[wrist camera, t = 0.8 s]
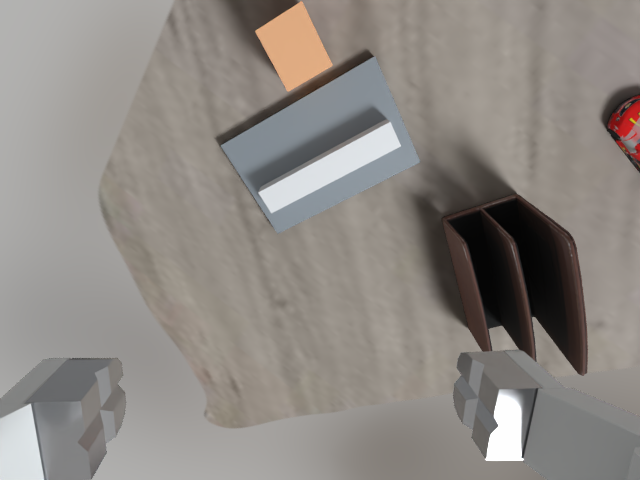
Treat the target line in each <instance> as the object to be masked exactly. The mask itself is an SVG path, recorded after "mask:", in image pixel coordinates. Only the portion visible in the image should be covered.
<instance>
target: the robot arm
mask: <svg viewBox="0 0 640 480" xmlns="http://www.w3.org/2000/svg"><path fill="white" fill-rule="evenodd" d="M457 369H458V371H459V372H460V374H461V376H460V377H459V379H458V380H457V381H456V382H455V383H454V391H453V399H454V406H455V409H456V412H457V415H458V417H459V418H460V420H461V422H462V423H463V424H464V425H466V426H467V427H469V428H471V429H472V430H473V432H472V439H473V440H474V442H475V444H476V445H477V446H478V448H479V450H480V451H481V453H482V454H483V456H484V458H485V459H486V460H523V462H524V463H525V464H527V465H528V466H529V467H531V468H532V469H534V470H535V471H536V472H538V473H539V474H540V475H541V476H543V477H544V478H545V479H547V480H640V416H638V415H636V414H634V413H631V412H629V411H626V410H624V409H621V408H619V407H617V406H614V405H612V404H610V403H607V402H605V401H602V400H600V399H597V398H595V397H593V396H591V395H588V394H586V393H583V392H581V391H579V390H576V389H573V388H565V387H564V386H563V385H562V384H561V383H560V382H559V381H557V380H556V379H555V378H554V377H553V376H552V375H550V374H549V373H548V372H547V371H546V370H545V369H544V368H542V367H541V366H540V365H539V364H538V363H537V362H535V361H534V360H533V359H532V358H531V357H530V356H529V355H527V354H526V353H525V352H524V351H521V350H505V351H485V352H464V353H461V354H460V356H459V358H458V362H457ZM122 376H123V370H122V363H121V361H120V360H119V359H118V358H51V359H50V358H49V359H45V360H42V361H41V362H40V363H39V364H38V365H37V366H36V367H35V368H34V369H32V370H31V371H30V372H29V373H28V374H27V375H26V376H25V377H24V378H22V379H21V380H20V381H19V382H18V383H17V384H16V385H15V386H14V387H13V388H12V389H10V390H9V391H8V392H7V393H6V394H5V395H4V396H3V397H2V398H0V480H91V479H92V478H93V476H94V474H95V473H96V471H97V469H98V467H99V465H100V464H101V462H102V460H103V459H104V457H105V455H106V453H107V451H106V443H107V442H109V441H110V440H112V439H113V438H115V437H116V435H117V433H118V431H119V430H120V428H121V426H122V422H123V419H124V415H125V408H126V398H125V392H124V391H123V390H122V388H121V387H120V386H119V385H118V382H119V381H120V379H121V378H122Z"/></svg>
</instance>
